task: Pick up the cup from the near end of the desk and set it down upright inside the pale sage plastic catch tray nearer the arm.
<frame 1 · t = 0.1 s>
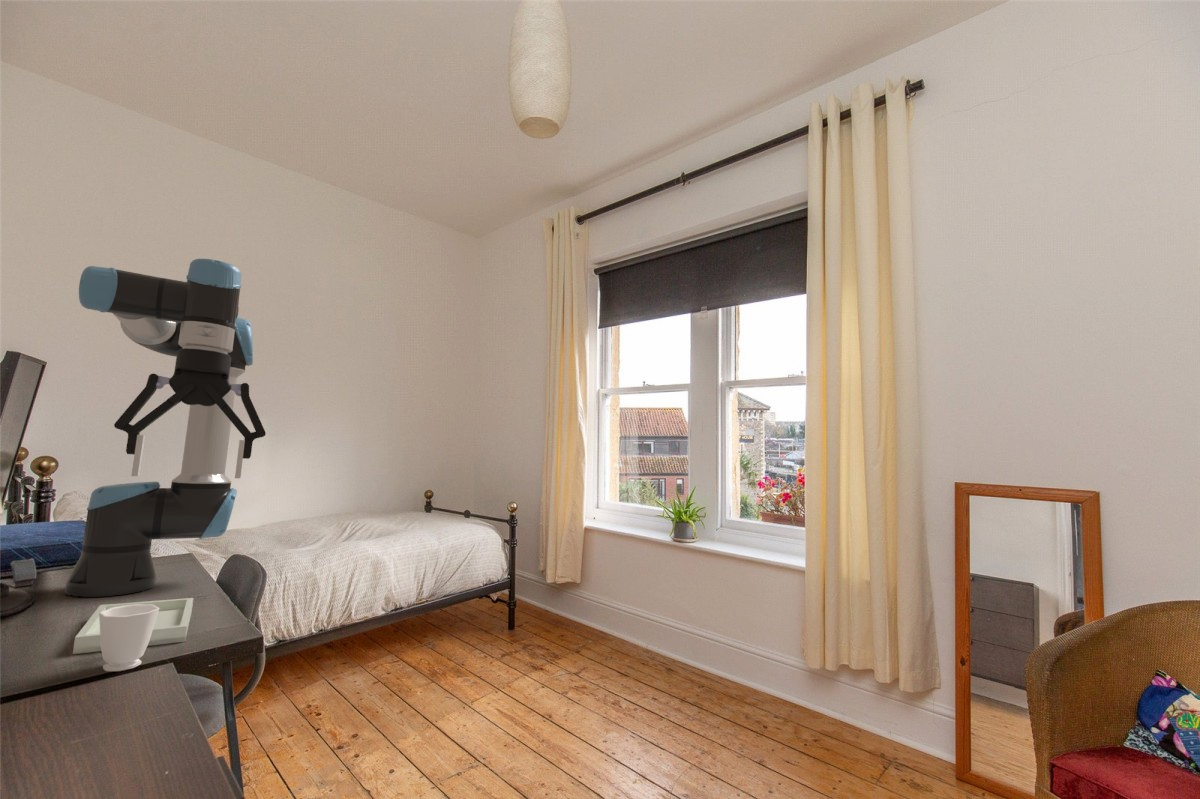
hand: (188, 477, 91), 28 cm above the table, fingers open, 13 cm apart
cup: (124, 663, 83), on the table
catch tray: (139, 629, 97), on the table
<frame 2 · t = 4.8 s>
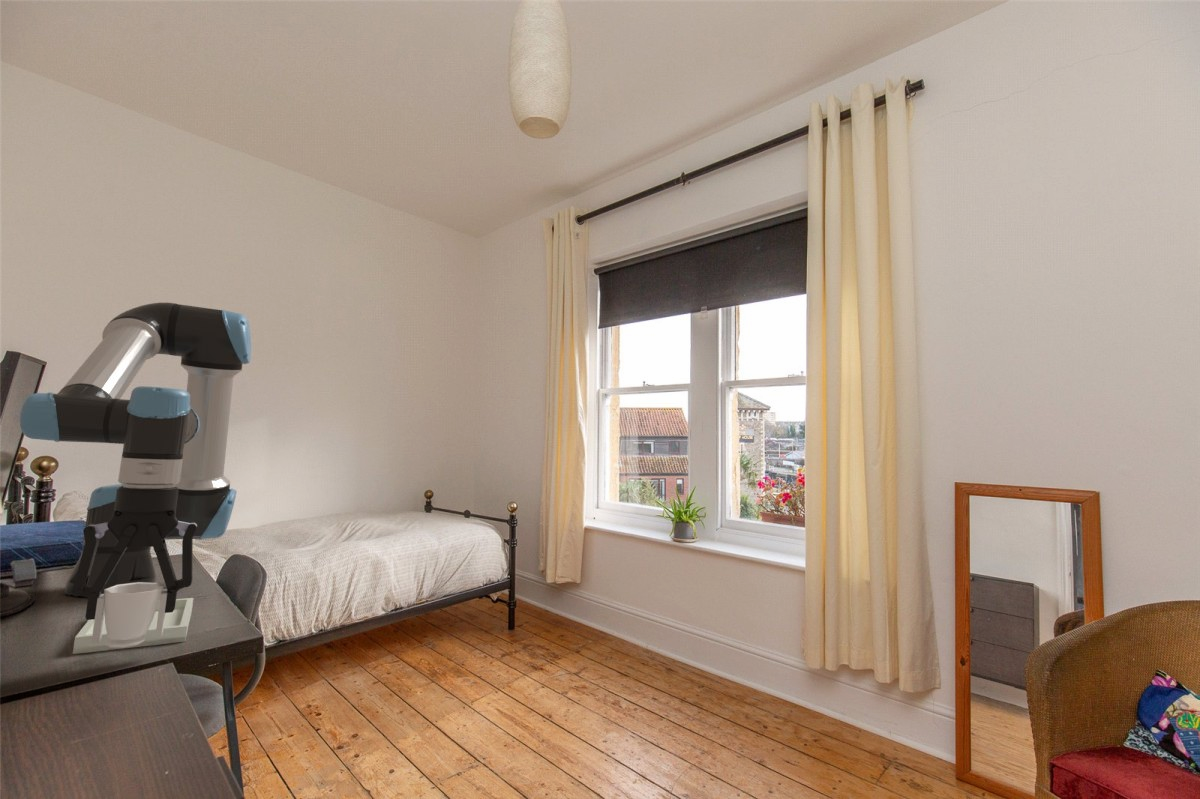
hand: (128, 637, 84), 4 cm above the table, fingers closed on cup, 7 cm apart
cup: (127, 640, 84), point 3 cm above the table, touching gripper
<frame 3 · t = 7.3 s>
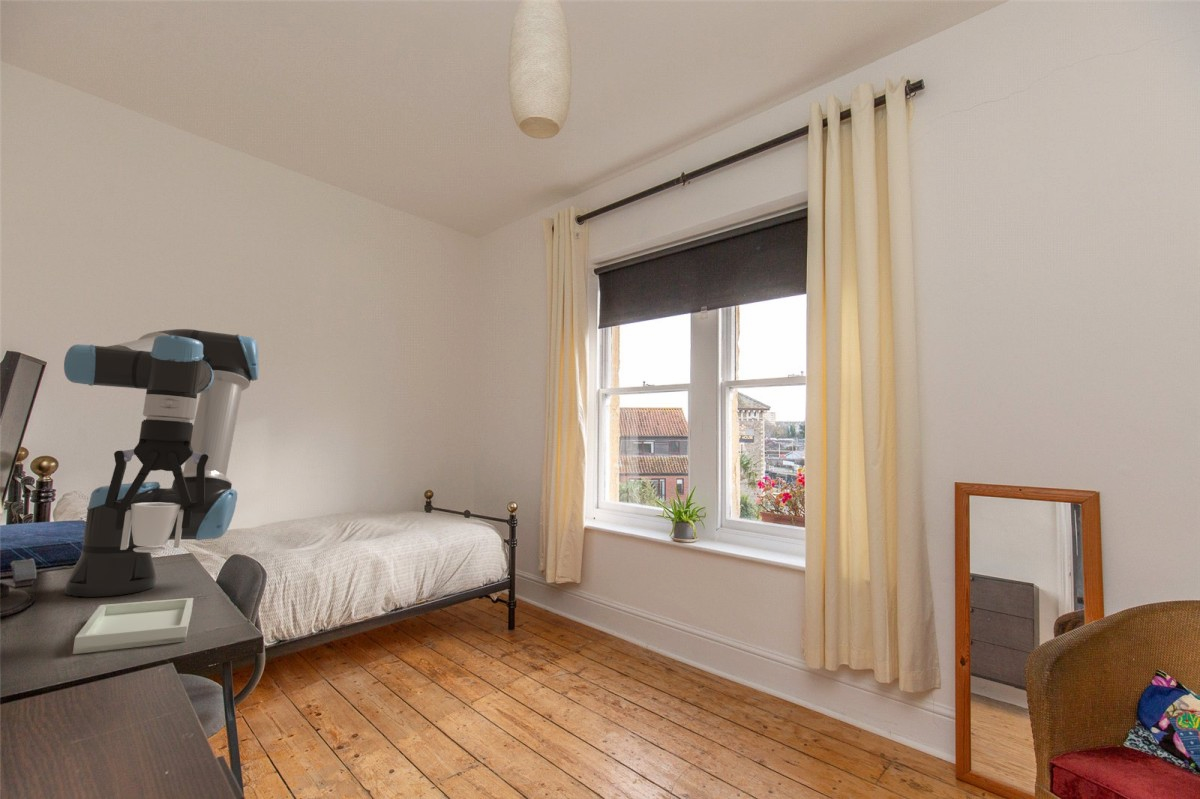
hand: (151, 547, 99), 14 cm above the table, fingers closed on cup, 7 cm apart
cup: (150, 549, 99), point 14 cm above the table, touching gripper
when the fingers open (2 cm above the table, at t = 10.2 s): cup moves 2 cm, resting on catch tray.
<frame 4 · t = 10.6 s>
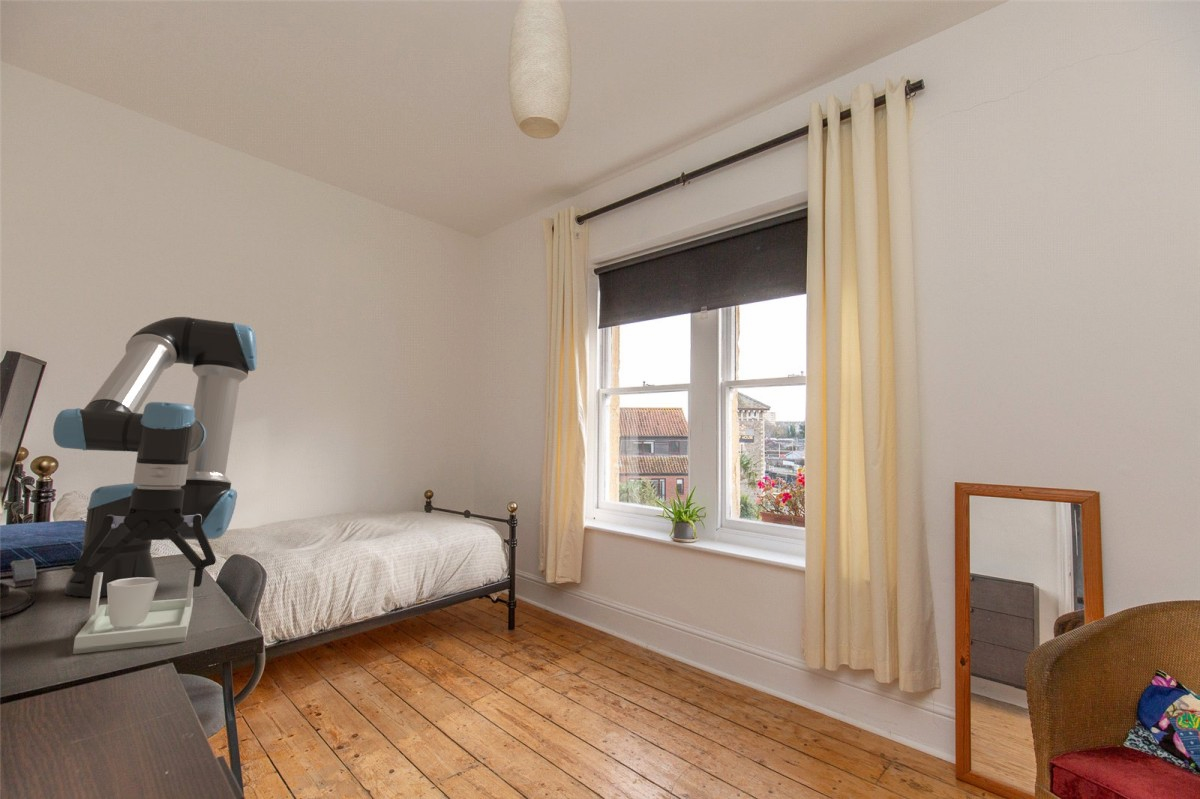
hand: (142, 609, 97), 4 cm above the table, fingers open, 12 cm apart
cup: (128, 628, 96), point 1 cm above the table, touching catch tray
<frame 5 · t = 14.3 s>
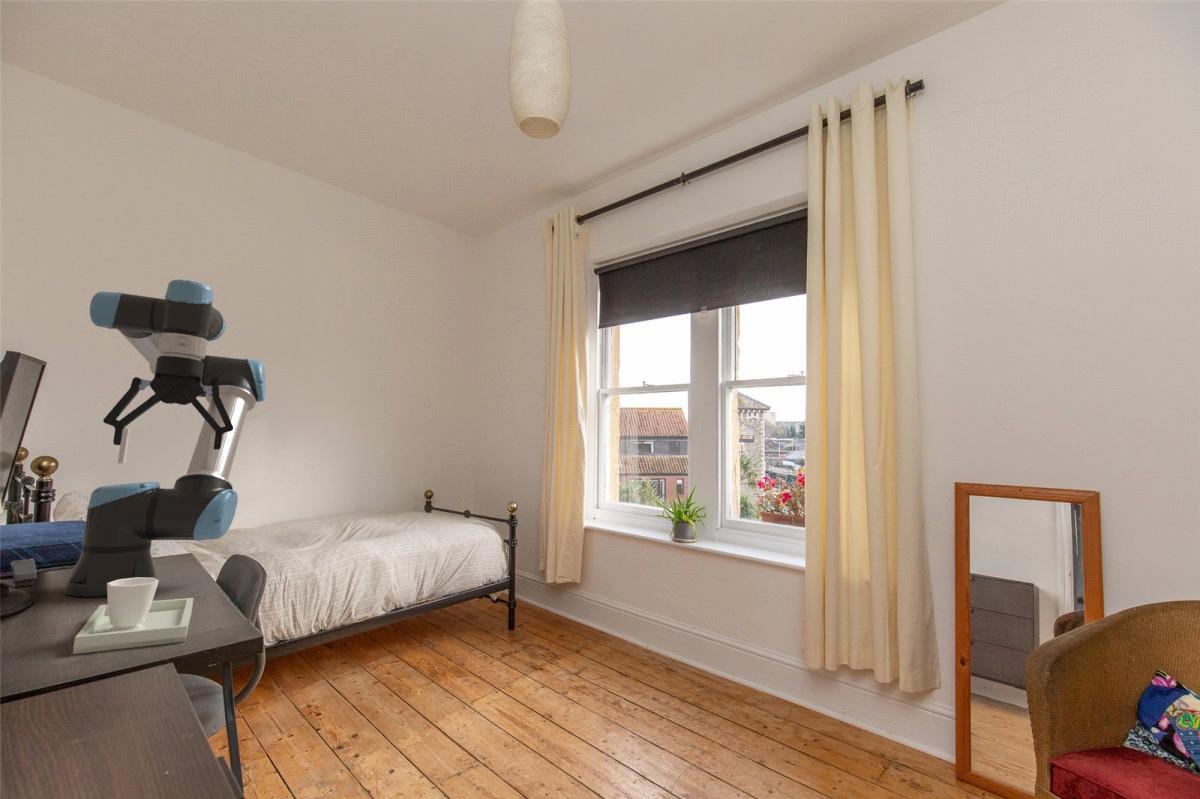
hand: (166, 464, 108), 29 cm above the table, fingers open, 13 cm apart
nothing on the table moved.
at the end: cup inside the target area on the catch tray (1.6 cm from its centre), point 0.6 cm above the catch tray's base; cup tilted 0°; the gripper is holding nothing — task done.
